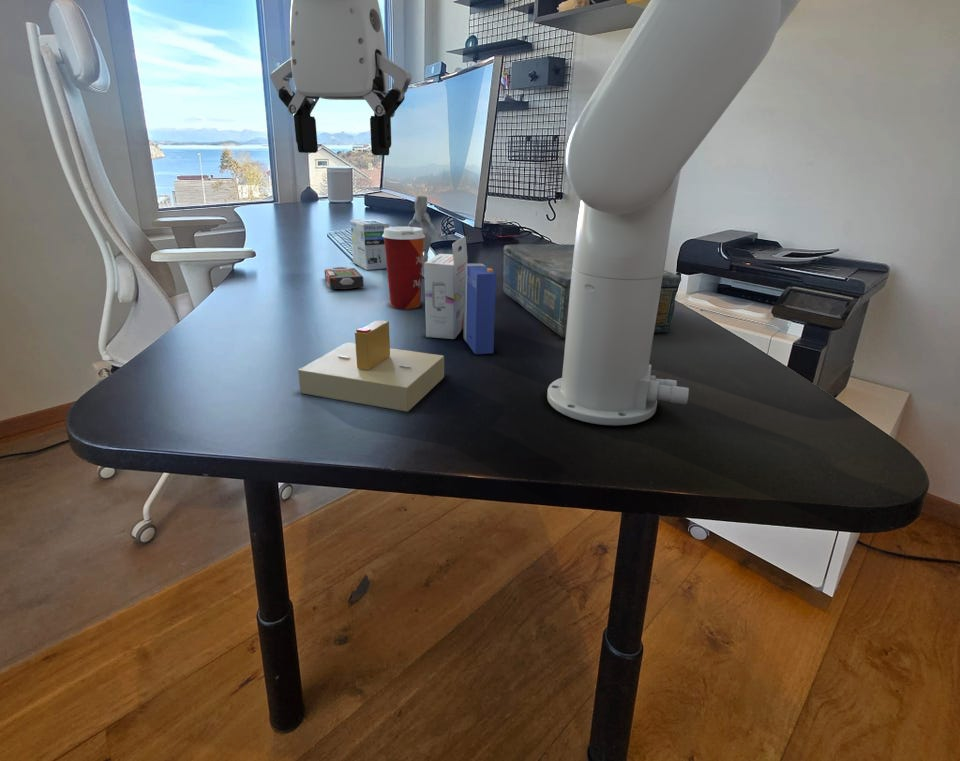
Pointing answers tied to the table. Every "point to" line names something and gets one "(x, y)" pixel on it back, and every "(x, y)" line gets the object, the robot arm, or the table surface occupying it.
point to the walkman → (479, 307)
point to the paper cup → (404, 265)
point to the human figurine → (423, 224)
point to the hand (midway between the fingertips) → (343, 153)
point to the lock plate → (373, 378)
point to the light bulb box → (368, 243)
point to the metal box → (561, 284)
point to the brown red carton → (343, 278)
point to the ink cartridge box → (445, 292)
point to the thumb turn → (372, 344)
